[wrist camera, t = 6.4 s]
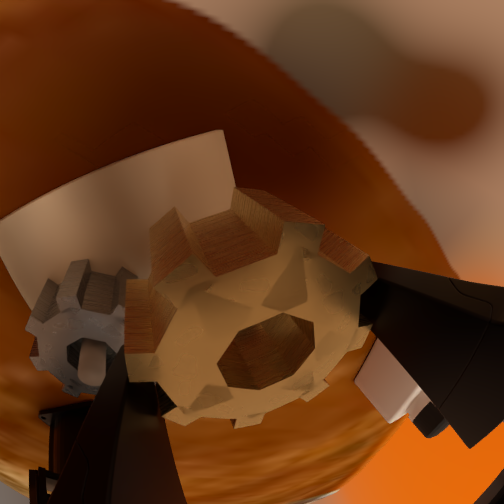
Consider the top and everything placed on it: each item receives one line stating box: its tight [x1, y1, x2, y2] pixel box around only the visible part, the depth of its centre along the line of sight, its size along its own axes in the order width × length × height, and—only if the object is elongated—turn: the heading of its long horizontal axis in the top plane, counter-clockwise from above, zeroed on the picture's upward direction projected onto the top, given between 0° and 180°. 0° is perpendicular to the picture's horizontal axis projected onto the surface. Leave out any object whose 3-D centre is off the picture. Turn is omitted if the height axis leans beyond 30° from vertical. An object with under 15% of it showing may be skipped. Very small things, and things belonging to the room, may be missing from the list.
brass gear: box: [124, 187, 378, 429], centre depth 7 cm, size 6×6×3 cm
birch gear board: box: [0, 130, 236, 386], centre depth 11 cm, size 12×10×5 cm
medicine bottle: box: [354, 338, 449, 438], centre depth 22 cm, size 7×7×12 cm
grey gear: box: [25, 259, 156, 398], centre depth 11 cm, size 6×6×3 cm
